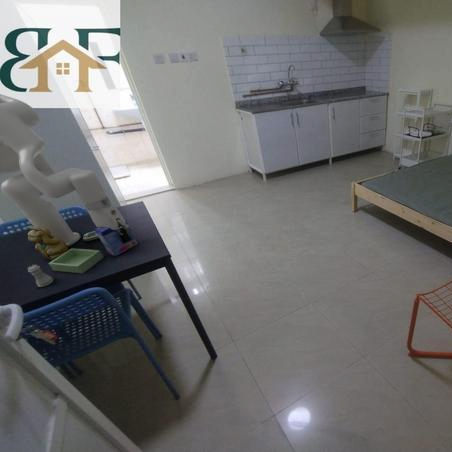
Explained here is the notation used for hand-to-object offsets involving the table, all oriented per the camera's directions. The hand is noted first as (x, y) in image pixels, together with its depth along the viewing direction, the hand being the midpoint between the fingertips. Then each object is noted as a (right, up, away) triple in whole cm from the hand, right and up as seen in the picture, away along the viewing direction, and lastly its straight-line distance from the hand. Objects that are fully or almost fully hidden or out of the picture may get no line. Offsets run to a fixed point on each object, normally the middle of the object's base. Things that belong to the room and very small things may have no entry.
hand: (119, 240), depth 116 cm
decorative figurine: (-26, -6, +1) cm, 27 cm away
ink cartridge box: (0, -4, +2) cm, 4 cm away
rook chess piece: (-16, -15, -13) cm, 26 cm away
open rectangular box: (-12, -9, -5) cm, 16 cm away
